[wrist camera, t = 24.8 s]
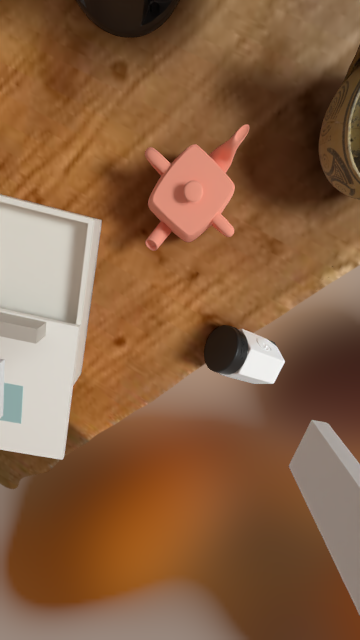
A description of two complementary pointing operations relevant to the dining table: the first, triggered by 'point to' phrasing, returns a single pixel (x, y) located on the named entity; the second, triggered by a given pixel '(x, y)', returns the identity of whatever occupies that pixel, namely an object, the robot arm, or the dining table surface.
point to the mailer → (48, 263)
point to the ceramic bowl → (343, 135)
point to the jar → (243, 355)
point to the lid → (36, 382)
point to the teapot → (192, 191)
